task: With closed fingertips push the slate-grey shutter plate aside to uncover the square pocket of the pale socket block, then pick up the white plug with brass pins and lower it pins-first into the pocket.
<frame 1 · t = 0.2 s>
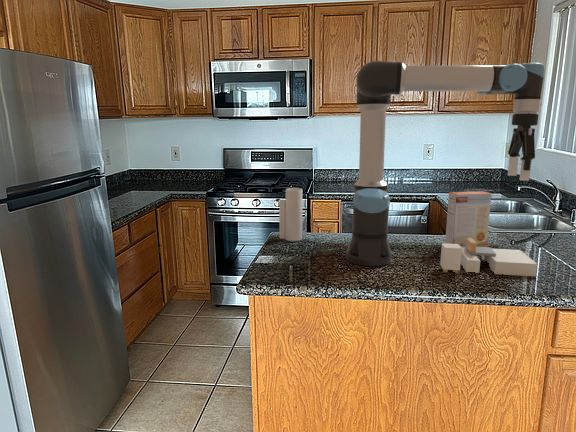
hand: (517, 178, 146), 28 cm above the worktop, fingers open, 13 cm apart
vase: (289, 238, 174), on the worktop
socket: (493, 266, 141), on the worktop
plug: (449, 270, 136), on the worktop
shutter: (480, 246, 142), point 6 cm above the worktop, slide at 0.0 cm
cracker box: (465, 247, 163), on the worktop
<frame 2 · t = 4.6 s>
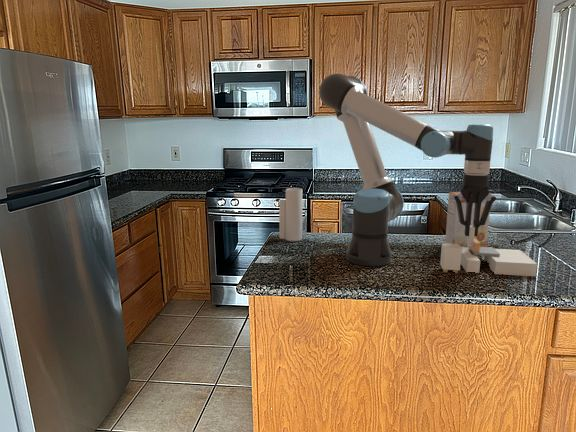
hand: (469, 245, 142), 6 cm above the worktop, fingers closed
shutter: (484, 246, 142), point 6 cm above the worktop, slide at 1.1 cm, touching gripper
everything else where it was.
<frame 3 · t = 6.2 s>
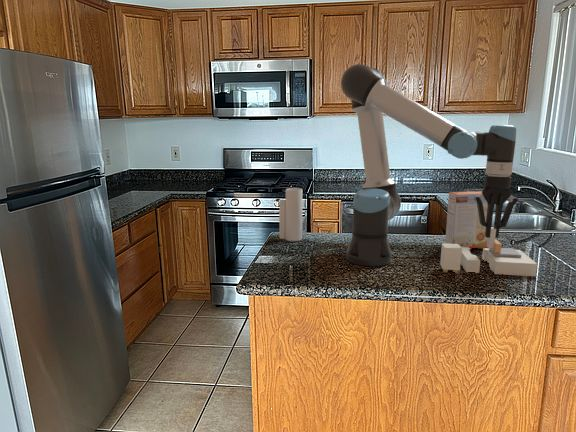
hand: (490, 247, 141), 6 cm above the worktop, fingers closed
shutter: (505, 247, 141), point 6 cm above the worktop, slide at 7.5 cm, touching gripper
everything else where it was.
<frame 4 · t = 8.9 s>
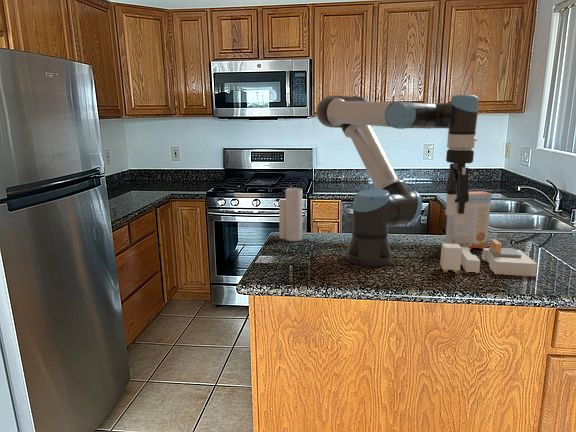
hand: (454, 219, 133), 17 cm above the worktop, fingers open, 13 cm apart
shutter: (505, 247, 141), point 6 cm above the worktop, slide at 7.5 cm
everything else where it was.
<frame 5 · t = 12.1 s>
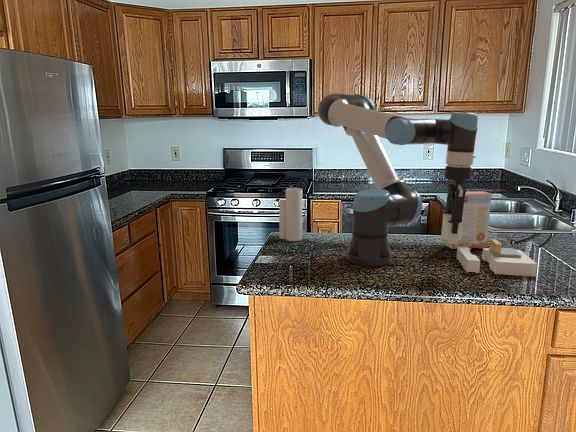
hand: (450, 240, 135), 10 cm above the worktop, fingers closed on plug, 5 cm apart
plug: (450, 241, 135), point 9 cm above the worktop, touching gripper
everything else where it was.
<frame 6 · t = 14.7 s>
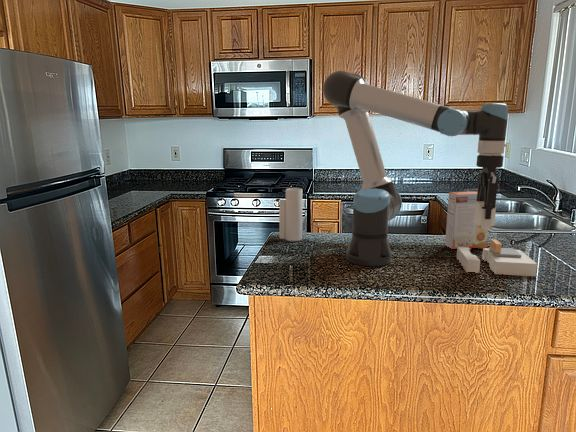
hand: (483, 226, 141), 13 cm above the worktop, fingers closed on plug, 5 cm apart
plug: (483, 227, 141), point 12 cm above the worktop, touching gripper
everything else where it was.
when the fingers open (0 cm above the worktop, at t = 17.6 s): plug stays where it is, on the worktop.
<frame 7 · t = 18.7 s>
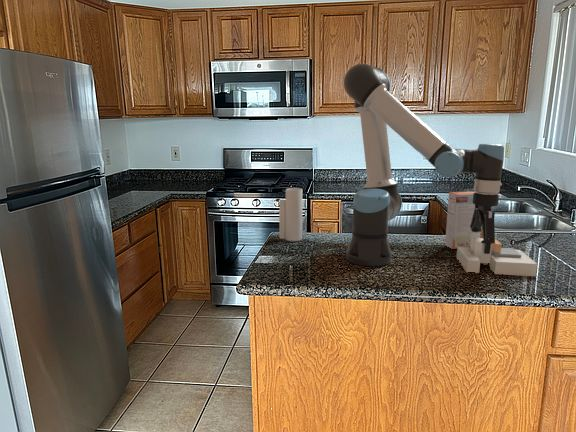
hand: (479, 256, 143), 3 cm above the worktop, fingers open, 13 cm apart
plug: (479, 264, 143), on the worktop
everything else where it was.
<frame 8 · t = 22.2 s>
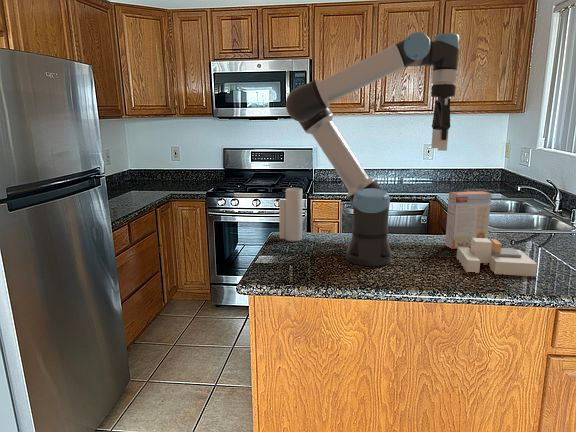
hand: (438, 149, 147), 37 cm above the worktop, fingers open, 13 cm apart
nothing on the worktop moved.
at the end: plug 0.1 cm from the target spot on the socket, point 0.0 cm above the socket's base; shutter slide at 7.5 cm; plug tilted 0° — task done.
